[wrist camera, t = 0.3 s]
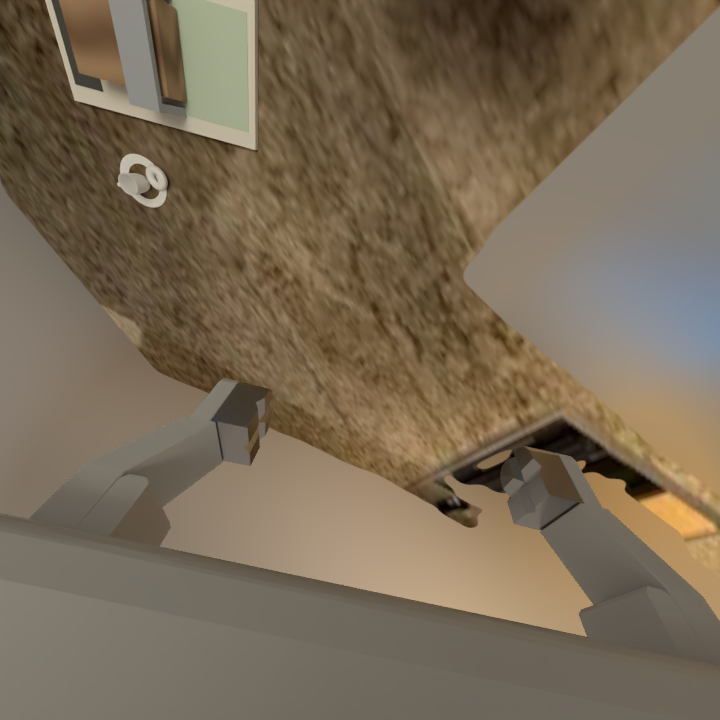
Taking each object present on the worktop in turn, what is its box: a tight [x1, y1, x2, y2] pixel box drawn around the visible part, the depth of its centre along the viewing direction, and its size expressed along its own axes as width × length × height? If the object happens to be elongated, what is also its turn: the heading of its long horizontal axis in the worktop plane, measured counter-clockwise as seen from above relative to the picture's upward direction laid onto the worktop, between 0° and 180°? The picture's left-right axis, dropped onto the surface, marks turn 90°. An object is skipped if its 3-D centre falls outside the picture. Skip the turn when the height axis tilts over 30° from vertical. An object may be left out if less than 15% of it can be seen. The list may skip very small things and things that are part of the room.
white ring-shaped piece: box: [117, 154, 168, 207], centre depth 48 cm, size 9×8×4 cm
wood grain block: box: [59, 0, 187, 102], centre depth 37 cm, size 9×12×4 cm
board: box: [45, 0, 258, 150], centre depth 39 cm, size 16×28×1 cm, turn 78°
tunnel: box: [108, 0, 187, 117], centre depth 36 cm, size 12×4×6 cm, turn 168°
